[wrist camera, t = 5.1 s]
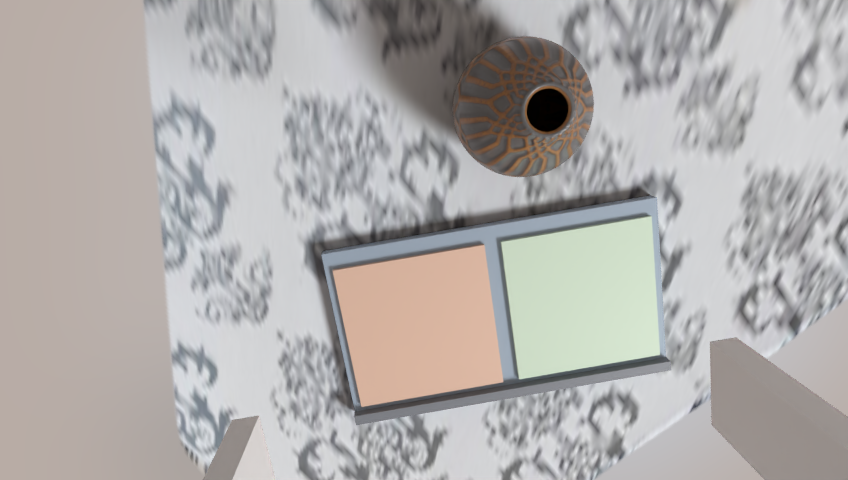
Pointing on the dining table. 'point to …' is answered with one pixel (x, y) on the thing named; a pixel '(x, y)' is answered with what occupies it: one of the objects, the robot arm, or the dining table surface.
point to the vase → (523, 106)
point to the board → (500, 309)
